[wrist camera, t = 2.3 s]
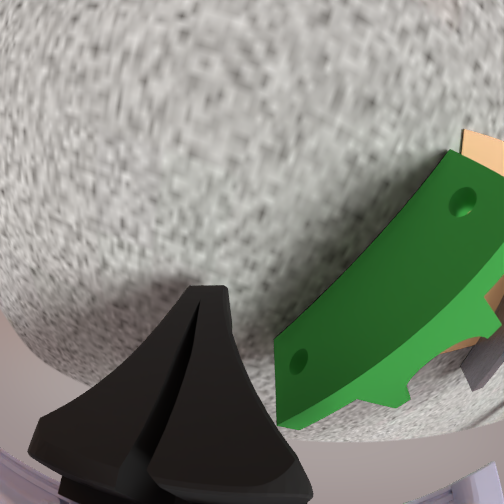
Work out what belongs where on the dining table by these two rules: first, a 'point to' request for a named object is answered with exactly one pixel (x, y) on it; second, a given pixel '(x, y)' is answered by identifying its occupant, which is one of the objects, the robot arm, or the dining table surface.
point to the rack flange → (500, 295)
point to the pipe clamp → (398, 299)
